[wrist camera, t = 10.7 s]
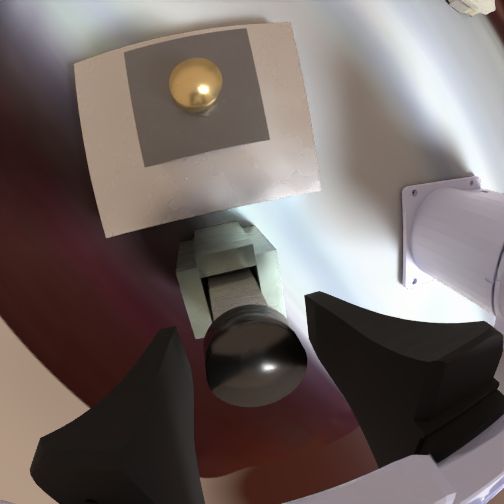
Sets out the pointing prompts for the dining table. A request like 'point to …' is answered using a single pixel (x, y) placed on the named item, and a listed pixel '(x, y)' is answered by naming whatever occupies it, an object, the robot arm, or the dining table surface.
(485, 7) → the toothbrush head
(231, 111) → the housing
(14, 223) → the dining table surface
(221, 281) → the press ram
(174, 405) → the robot arm
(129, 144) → the plate
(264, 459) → the dining table surface
